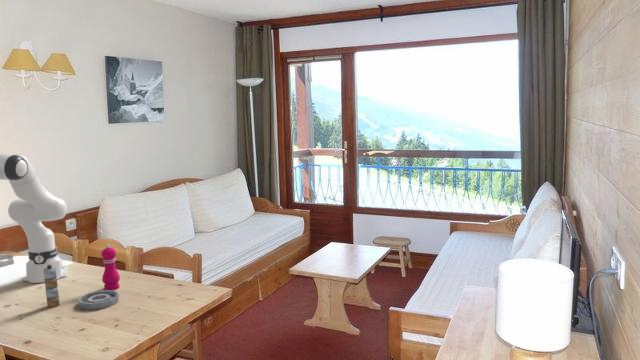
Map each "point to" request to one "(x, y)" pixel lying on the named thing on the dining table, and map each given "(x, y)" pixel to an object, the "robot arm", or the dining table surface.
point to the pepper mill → (110, 269)
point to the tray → (98, 300)
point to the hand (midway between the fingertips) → (13, 258)
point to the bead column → (51, 286)
